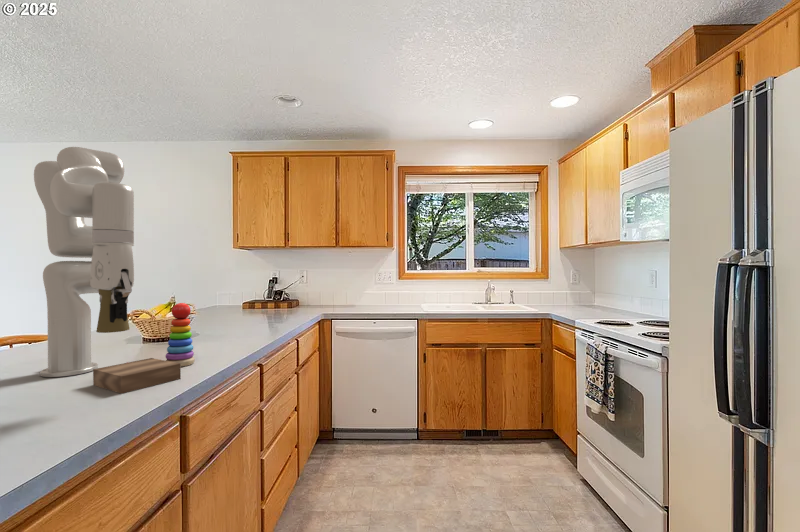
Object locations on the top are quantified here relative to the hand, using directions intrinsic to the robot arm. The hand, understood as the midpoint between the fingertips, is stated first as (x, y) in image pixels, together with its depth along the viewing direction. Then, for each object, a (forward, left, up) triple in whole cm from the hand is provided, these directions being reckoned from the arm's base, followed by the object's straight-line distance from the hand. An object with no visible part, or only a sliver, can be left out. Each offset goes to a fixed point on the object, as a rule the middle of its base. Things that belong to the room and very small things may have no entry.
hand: (113, 320), depth 88 cm
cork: (0, 0, -3) cm, 3 cm away
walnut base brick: (-10, +10, -18) cm, 22 cm away
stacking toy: (-18, +26, -18) cm, 36 cm away
